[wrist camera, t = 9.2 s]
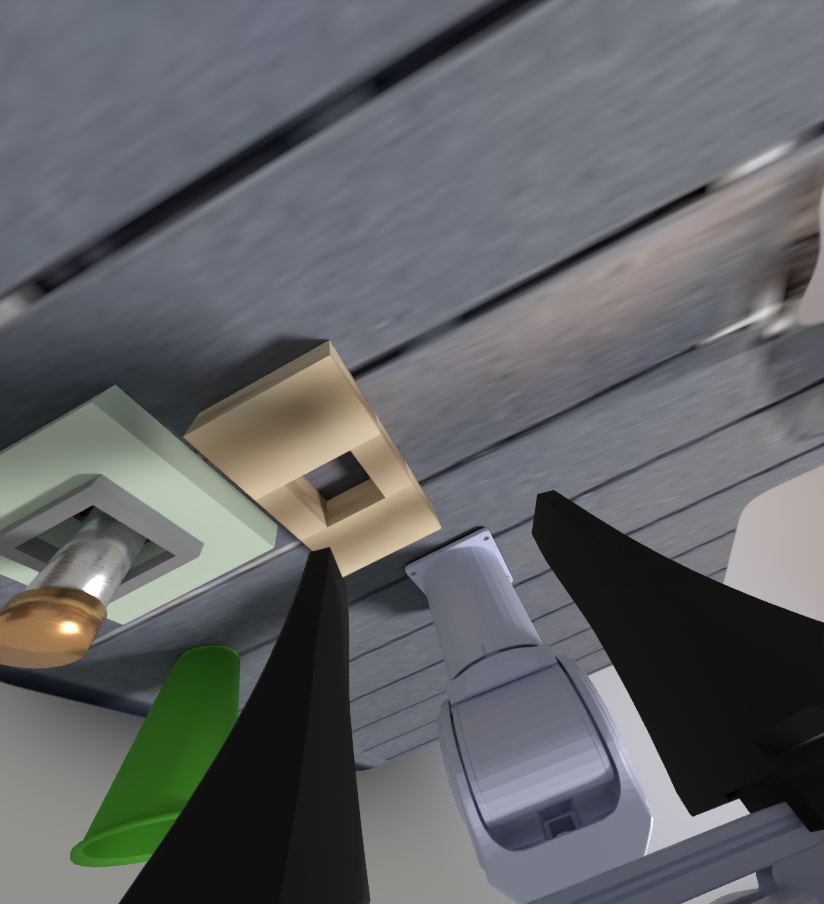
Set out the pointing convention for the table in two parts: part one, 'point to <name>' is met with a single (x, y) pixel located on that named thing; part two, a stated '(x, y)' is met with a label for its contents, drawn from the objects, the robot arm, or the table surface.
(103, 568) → the pin
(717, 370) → the table surface
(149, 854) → the cup
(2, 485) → the socket
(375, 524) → the mount
